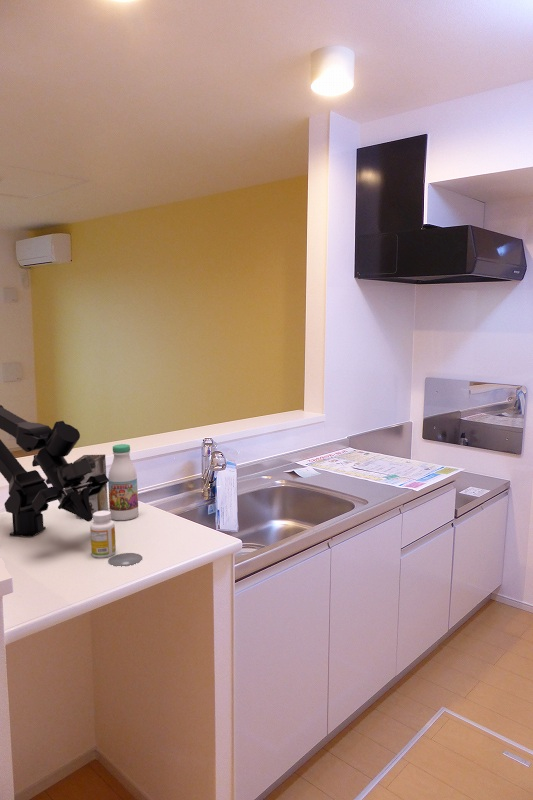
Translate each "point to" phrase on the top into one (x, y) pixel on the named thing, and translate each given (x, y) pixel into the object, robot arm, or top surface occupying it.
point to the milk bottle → (122, 485)
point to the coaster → (125, 559)
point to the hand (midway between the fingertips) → (90, 520)
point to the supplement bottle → (102, 535)
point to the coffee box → (100, 499)
